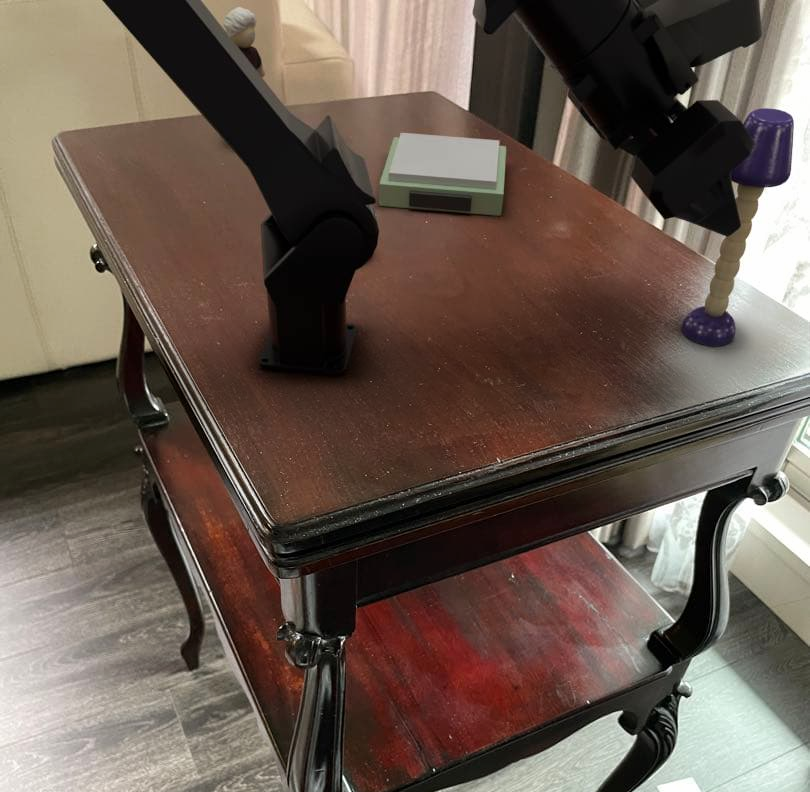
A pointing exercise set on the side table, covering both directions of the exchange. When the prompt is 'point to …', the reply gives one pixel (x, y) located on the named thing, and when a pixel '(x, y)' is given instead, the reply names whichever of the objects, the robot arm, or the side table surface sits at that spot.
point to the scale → (444, 174)
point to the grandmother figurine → (244, 35)
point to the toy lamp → (743, 220)
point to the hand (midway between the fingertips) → (707, 201)
